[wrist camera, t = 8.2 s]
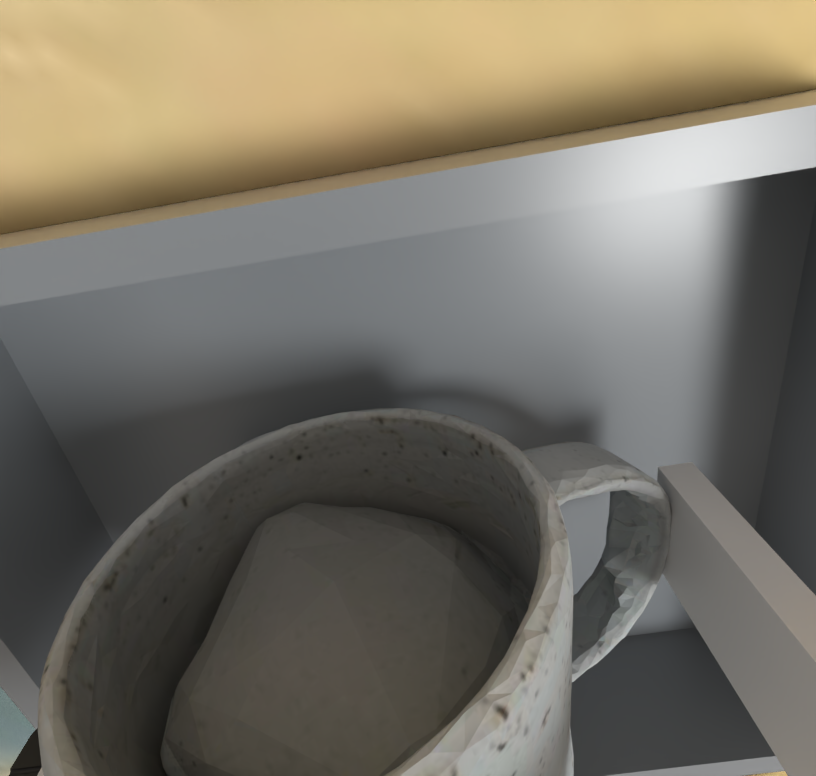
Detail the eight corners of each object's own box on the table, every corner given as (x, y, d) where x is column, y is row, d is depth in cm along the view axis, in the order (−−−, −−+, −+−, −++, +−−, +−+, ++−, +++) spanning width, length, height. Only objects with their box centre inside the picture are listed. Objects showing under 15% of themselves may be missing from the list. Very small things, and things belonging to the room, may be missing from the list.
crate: (191, 681, 19) (130, 845, 15) (-50, 243, 12) (-313, 303, 8) (740, 610, 18) (853, 763, 14) (838, 84, 11) (1140, 47, 7)
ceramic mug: (284, 674, 15) (202, 1132, 8) (164, 445, 11) (-171, 917, 4) (643, 602, 14) (888, 1029, 7) (636, 339, 11) (1094, 688, 4)
